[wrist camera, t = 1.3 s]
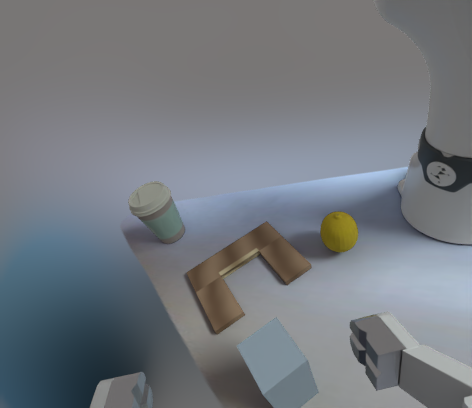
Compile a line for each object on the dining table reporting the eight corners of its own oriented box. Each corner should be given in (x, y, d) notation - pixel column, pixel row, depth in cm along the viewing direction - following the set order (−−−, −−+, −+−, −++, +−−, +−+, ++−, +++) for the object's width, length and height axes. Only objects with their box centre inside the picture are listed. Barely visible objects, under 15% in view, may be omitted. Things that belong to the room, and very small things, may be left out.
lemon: (345, 267, 42) (344, 234, 37) (315, 251, 46) (310, 219, 41) (364, 244, 44) (365, 210, 39) (334, 230, 48) (331, 197, 43)
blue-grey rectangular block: (292, 354, 36) (276, 317, 29) (318, 392, 32) (307, 359, 25) (261, 378, 35) (236, 345, 28) (284, 420, 31) (262, 394, 24)
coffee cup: (162, 221, 65) (136, 182, 57) (195, 217, 62) (172, 176, 54) (149, 250, 58) (118, 211, 51) (184, 247, 56) (157, 206, 48)
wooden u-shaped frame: (267, 224, 54) (266, 221, 53) (311, 267, 44) (310, 263, 43) (188, 275, 50) (186, 272, 50) (217, 334, 41) (214, 331, 40)
